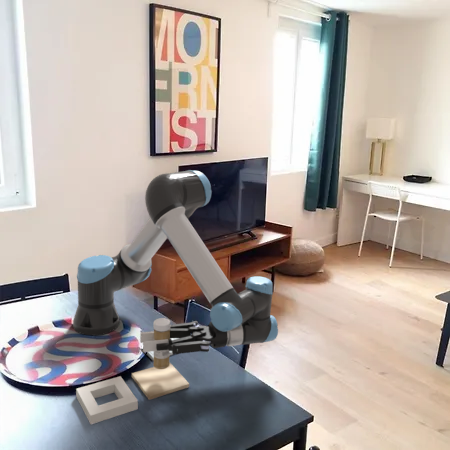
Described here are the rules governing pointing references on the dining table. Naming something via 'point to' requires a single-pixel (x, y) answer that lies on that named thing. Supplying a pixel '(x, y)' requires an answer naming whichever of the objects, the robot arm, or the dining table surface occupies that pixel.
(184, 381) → the birch board
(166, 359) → the sprinkles bottle
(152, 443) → the dining table surface
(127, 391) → the socket block
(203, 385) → the dining table surface
